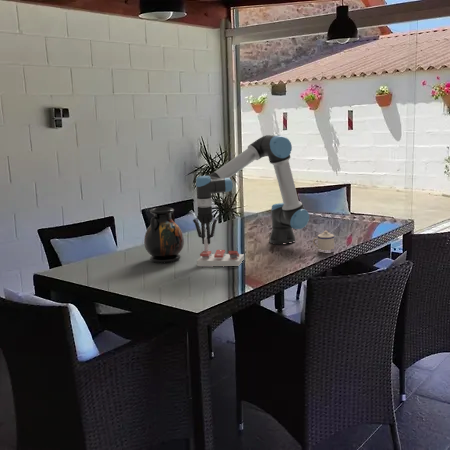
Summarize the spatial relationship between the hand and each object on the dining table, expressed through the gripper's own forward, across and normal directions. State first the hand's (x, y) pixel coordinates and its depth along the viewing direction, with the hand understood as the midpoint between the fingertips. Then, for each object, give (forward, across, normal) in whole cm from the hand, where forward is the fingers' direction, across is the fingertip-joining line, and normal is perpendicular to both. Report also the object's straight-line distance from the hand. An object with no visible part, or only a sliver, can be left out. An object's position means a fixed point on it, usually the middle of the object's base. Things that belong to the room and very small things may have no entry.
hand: (206, 250), depth 309 cm
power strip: (+6, +8, -2) cm, 10 cm away
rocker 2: (+3, +8, -3) cm, 9 cm away
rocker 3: (+2, +15, -5) cm, 16 cm away
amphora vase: (+7, -24, +2) cm, 25 cm away
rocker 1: (+3, 0, -4) cm, 5 cm away
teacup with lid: (+6, +59, +24) cm, 64 cm away
